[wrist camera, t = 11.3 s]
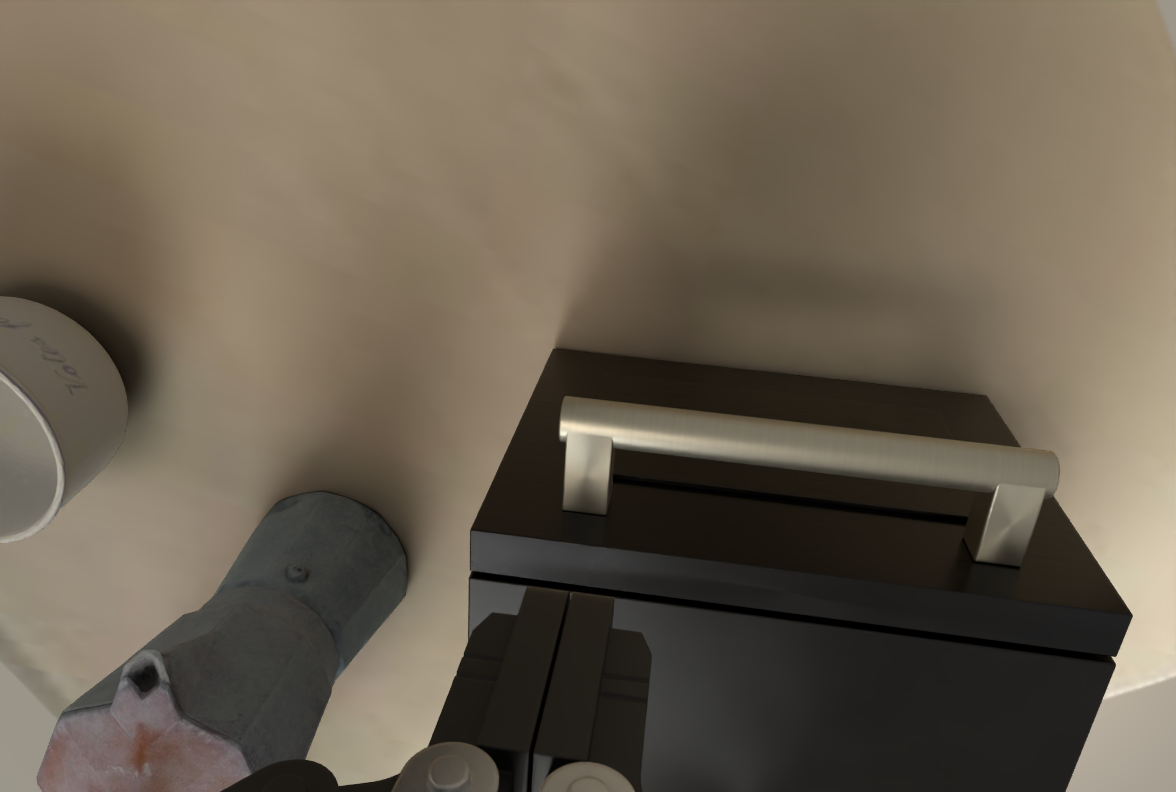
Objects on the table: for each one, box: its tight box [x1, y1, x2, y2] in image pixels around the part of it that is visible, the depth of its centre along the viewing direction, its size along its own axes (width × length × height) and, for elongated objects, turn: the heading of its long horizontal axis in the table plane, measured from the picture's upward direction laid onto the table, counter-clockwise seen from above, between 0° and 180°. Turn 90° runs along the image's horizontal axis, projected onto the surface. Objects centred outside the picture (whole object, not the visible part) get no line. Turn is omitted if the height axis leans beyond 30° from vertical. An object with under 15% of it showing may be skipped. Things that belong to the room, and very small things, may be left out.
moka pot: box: [37, 492, 407, 792], centre depth 40 cm, size 10×15×20 cm, turn 179°
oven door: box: [470, 349, 1133, 657], centre depth 34 cm, size 5×20×16 cm, turn 86°
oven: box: [468, 571, 1116, 792], centre depth 38 cm, size 16×20×16 cm
